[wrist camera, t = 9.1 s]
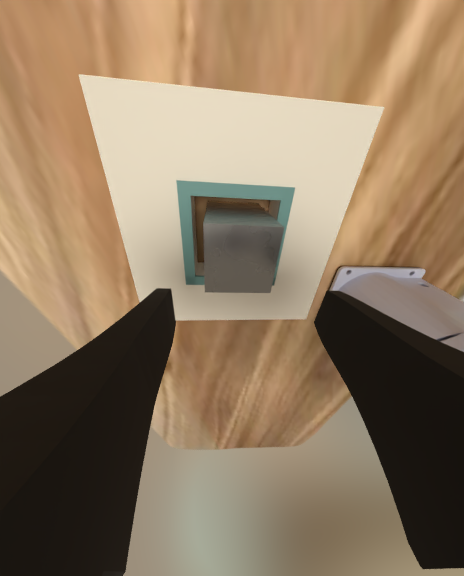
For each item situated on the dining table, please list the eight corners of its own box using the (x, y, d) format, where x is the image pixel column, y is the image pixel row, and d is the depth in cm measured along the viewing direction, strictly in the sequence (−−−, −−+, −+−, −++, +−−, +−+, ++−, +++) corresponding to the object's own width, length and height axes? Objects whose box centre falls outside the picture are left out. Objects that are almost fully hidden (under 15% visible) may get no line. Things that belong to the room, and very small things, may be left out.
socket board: (356, 116, 13) (387, 106, 10) (297, 304, 21) (306, 320, 19) (104, 91, 11) (75, 72, 9) (152, 304, 20) (143, 322, 18)
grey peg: (257, 203, 15) (284, 227, 9) (251, 250, 17) (270, 293, 11) (208, 200, 15) (203, 223, 9) (208, 248, 17) (204, 292, 11)
